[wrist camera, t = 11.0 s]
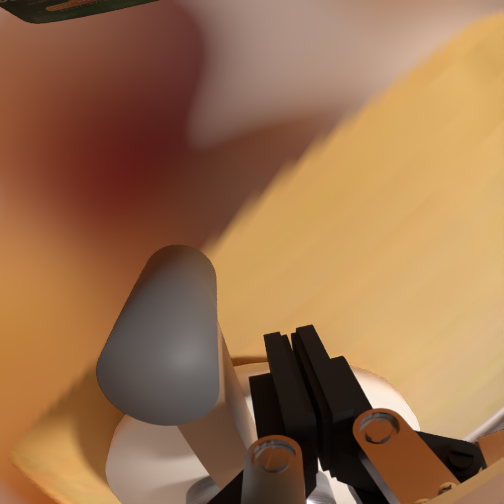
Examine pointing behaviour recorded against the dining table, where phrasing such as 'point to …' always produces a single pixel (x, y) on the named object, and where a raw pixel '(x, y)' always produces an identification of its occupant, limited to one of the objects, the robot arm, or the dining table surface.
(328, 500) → the cover
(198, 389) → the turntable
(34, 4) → the coffee jar
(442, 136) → the dining table surface
